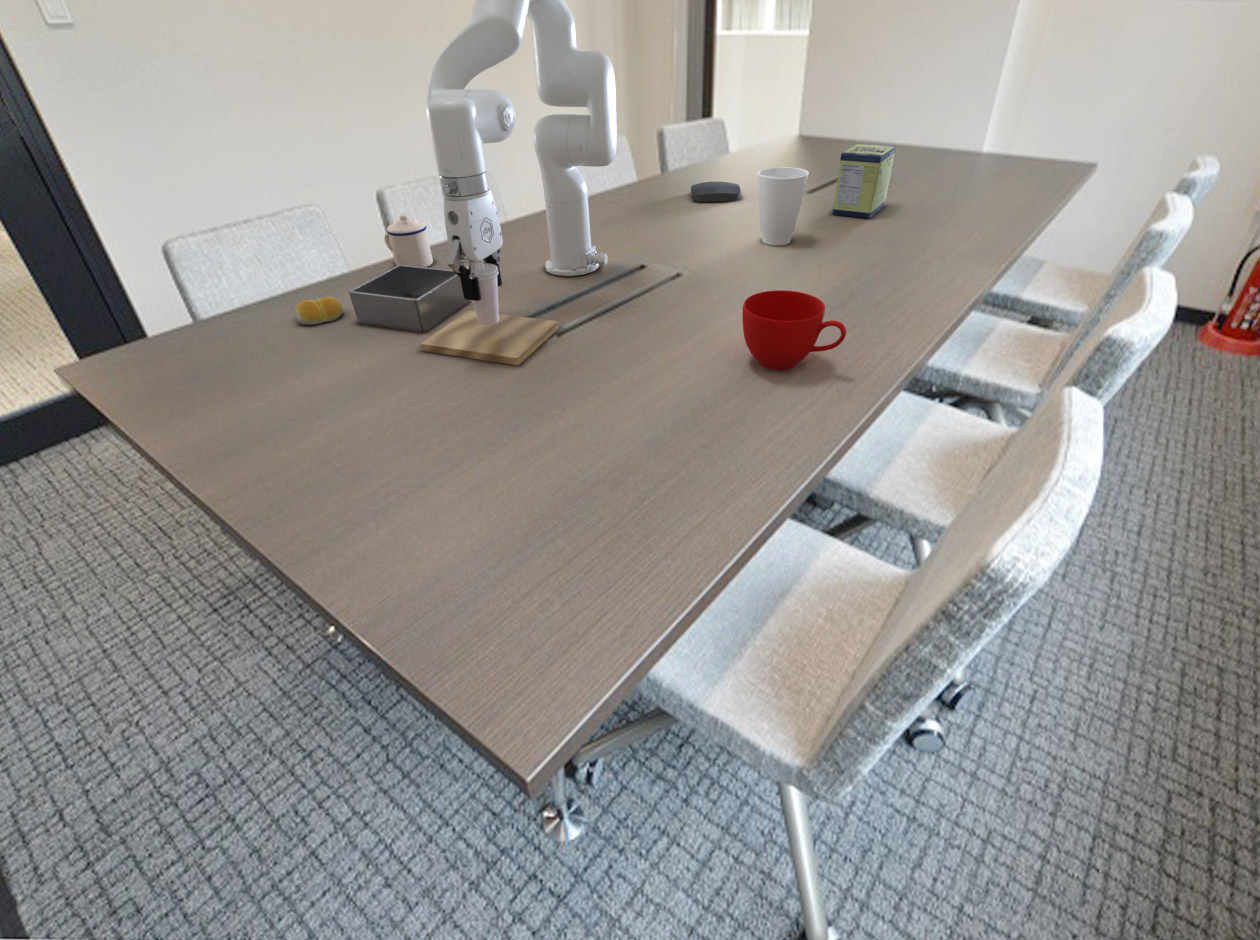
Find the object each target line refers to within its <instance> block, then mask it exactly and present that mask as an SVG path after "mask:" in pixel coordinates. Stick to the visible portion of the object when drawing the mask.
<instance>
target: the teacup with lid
mask: <svg viewBox="0 0 1260 940" xmlns="http://www.w3.org/2000/svg"><path fill="white" fill-rule="evenodd" d="M398 218H399V219H397V220H395V221H394V223H392V224H389V225H388V226H387V228H386V233H385V234H384V235H383V237H384V243H385V245H386V247H387V248H388V250H389V251H391V252H392V253H393V257H394V261H395V265H396V266H398V265H408V266H417V267H427V268H429V267H430V266H432V264H433V262H434V260H433V255H432V250H431V246H430V242H429V237H428V232H427V225H426V223H425V222H423V221H421V220H415V219H414V218H410V217H409V215H408V214H407V213H403V214H400V215H399V217H398Z"/></svg>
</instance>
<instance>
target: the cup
mask: <svg viewBox="0 0 1260 940" xmlns="http://www.w3.org/2000/svg"><path fill="white" fill-rule="evenodd" d="M809 174H810V172H809V171H808V170H807V169H804V168H800V167H791V166H773V167H767V168H763V169H760V170H758V171H757V182H758V185H757V186H758V199H759V200H758V202H759V222H760V232H761V240H762V243H764V244H766V245H769V246H785V245H788V244H790V243H791V240H792V236H793V233H794V232H795V228H796V224H797V221H798V217H799V212H800V209H801V205H802V200H803V196H804V193H805V188H806V184H807V180H808V177H809V176H810V175H809Z"/></svg>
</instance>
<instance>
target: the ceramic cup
mask: <svg viewBox="0 0 1260 940" xmlns="http://www.w3.org/2000/svg"><path fill="white" fill-rule="evenodd" d="M825 314H826V305H825V303H824V302H823V301H822V300H821V299H820V298H818V297H817V296H814V295H812V294H809V293H806V292H805V293H804V292H800V291H795V290H786V289H785V290H784V289H782V290H779V289H778V290H766V291H761V292H757V293H753V294H752V295H750V296H748V297H747V298H746V299H745V300H744V301H743V304H742V315H741V316H742V331H743V337H744V342H745V344H746V347H747V349H748V350H749V352H750V354H751V355H752V356H753V358H754V359H755V360H756V361H757V363H758V365H760V366H761V367H763V368H766V369H768V370H773V371H785V370H790V369H793V368H795V367H797V365H798V364H799V363H801V362H802V361H803V360H804V359H805V358H806V357H807V356H808V355H809V354H810V353H817V352H825V351H829V350H833V349H835V348H837V347H838V346H839V345H841V344H842V342H843V341H844V340H845V338H846V336H847V328H846V326H845V324H844V323H843V322H841V321H839V320H835V319H833V320H832V319H831V320H827V321H826V320H825V321H824V318H825ZM828 327H836V328H838V329H839V331H840V337H839V338H838V339H837V340H836V341H834V342H832V343H830V344H825V345H816V343H817V341H818V339H819V337H820V334H821V332H822V331H823V330H824V329H825V328H828Z"/></svg>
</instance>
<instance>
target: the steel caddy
mask: <svg viewBox="0 0 1260 940" xmlns="http://www.w3.org/2000/svg"><path fill="white" fill-rule="evenodd" d="M348 294H349V297H350V300H351V304H352V307H353V310H354V314H355V317H356V320H357V323H359V324H360V325H368V326H375V327H380V328H381V327H382V328H390V329H396V330H403V331H409V332H417V333H426V332H428V331H429V330H431V329H432V328H433V327H435V326H437V325H438V324H439V323H441V322H442V321H443V320H445V319H447V318H448V317H450V316H451V315H452V314H454V313H455V312H457V311H458V310H460V309H461V308H463V307H464V306H465V305H467V304H469V303H470V300H466V299H465V298H464V295H463V290H462V285H461V280H460V278H458V277H457V274H456V273H455V272H454V271H453V270H452V269H444V268H436V267H417V266H408V265H398V266H397V265H396V266H394V267H392V268H390V269H388V270H386V271H384V272H382V273H380V274H379V275H376V276H375V277H373V278H371V279H369V280H368V281H365V282H364V283H362V284H359V285H358V286H355V287H354V288H352V289H350V290H348ZM407 296H410V297H411V296H412V297H417V298H409V297H407Z"/></svg>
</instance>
